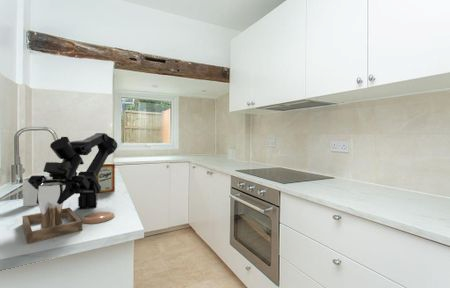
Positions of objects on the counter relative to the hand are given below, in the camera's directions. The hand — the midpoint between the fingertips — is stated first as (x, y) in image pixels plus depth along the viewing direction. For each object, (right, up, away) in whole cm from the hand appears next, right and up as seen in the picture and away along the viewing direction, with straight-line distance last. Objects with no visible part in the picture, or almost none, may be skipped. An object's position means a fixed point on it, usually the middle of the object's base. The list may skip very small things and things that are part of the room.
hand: (48, 203), depth 76 cm
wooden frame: (0, -9, +2) cm, 9 cm away
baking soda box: (-9, -7, +52) cm, 53 cm away
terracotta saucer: (+11, -8, +11) cm, 17 cm away
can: (-28, -8, +26) cm, 39 cm away
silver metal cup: (0, -9, +2) cm, 9 cm away
